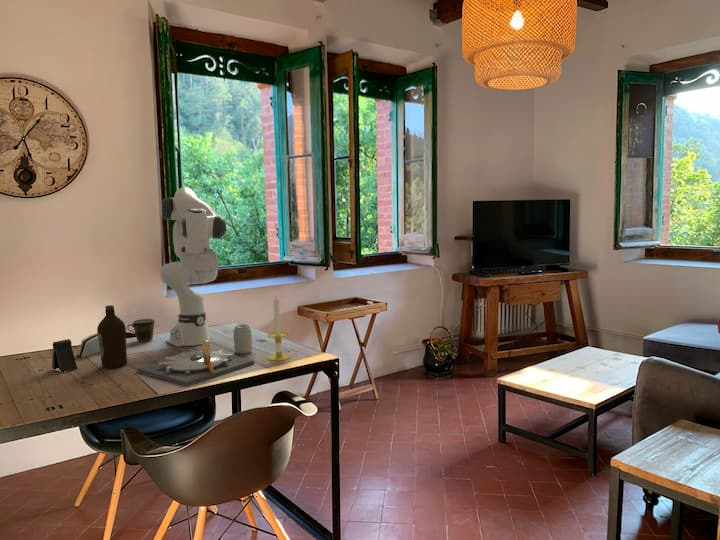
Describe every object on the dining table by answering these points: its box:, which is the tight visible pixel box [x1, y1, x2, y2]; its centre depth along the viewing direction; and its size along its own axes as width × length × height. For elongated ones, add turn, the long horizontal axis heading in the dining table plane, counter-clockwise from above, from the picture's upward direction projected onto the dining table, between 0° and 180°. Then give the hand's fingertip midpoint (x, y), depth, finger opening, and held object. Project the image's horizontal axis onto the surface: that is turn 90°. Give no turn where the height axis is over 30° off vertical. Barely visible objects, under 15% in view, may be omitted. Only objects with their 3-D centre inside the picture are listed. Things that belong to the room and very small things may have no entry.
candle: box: [266, 295, 292, 362], centre depth 228 cm, size 10×10×27 cm
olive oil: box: [96, 304, 128, 370], centre depth 224 cm, size 11×11×25 cm
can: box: [233, 323, 253, 355], centre depth 239 cm, size 8×8×12 cm
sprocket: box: [158, 340, 233, 374], centre depth 217 cm, size 27×28×11 cm
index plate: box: [136, 355, 255, 387], centre depth 218 cm, size 32×32×6 cm
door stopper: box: [51, 339, 78, 372], centre depth 222 cm, size 9×6×12 cm, turn 52°
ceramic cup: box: [126, 318, 155, 343], centre depth 266 cm, size 13×10×10 cm
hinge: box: [75, 332, 100, 358], centre depth 248 cm, size 17×5×10 cm, turn 157°
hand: (201, 281), depth 227 cm, fingers closed
